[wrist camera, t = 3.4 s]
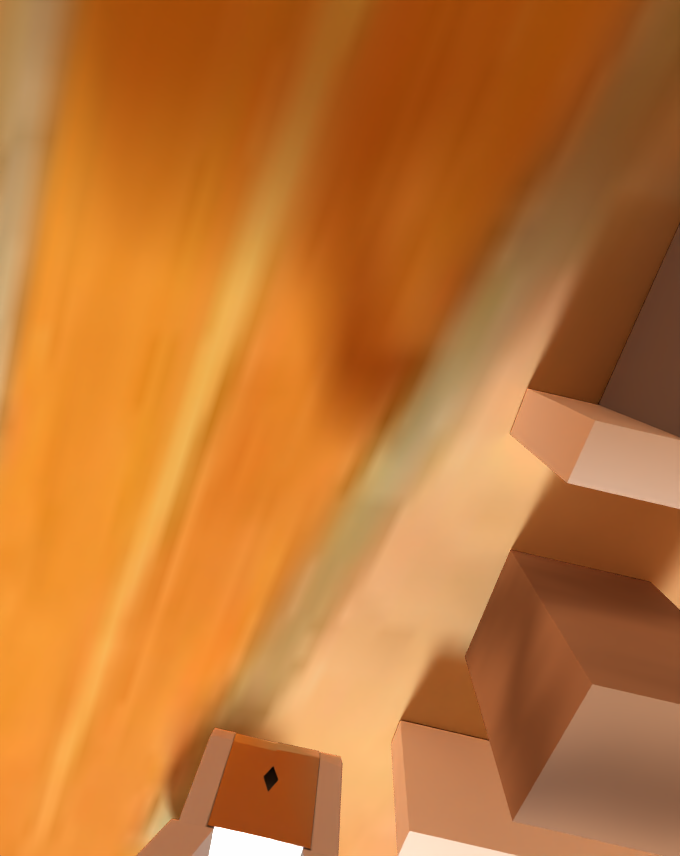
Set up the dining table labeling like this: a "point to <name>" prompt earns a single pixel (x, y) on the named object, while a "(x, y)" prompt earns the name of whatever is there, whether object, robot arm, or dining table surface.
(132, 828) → the dining table surface
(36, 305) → the dining table surface
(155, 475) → the dining table surface
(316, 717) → the dining table surface
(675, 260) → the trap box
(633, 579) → the block
